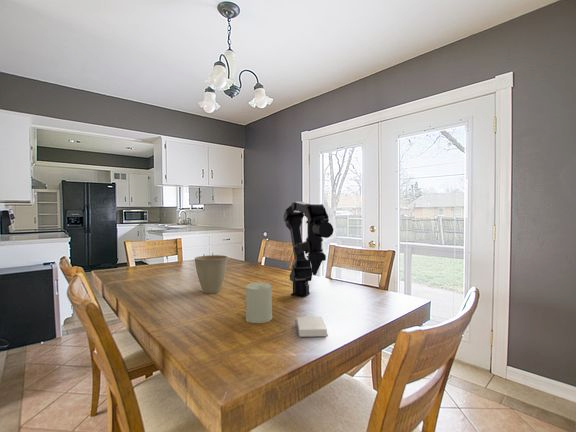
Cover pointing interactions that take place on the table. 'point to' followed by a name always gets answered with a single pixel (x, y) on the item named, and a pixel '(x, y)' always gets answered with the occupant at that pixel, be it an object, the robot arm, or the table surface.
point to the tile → (311, 326)
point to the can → (258, 302)
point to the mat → (298, 332)
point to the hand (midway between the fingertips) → (314, 274)
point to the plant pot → (211, 272)
